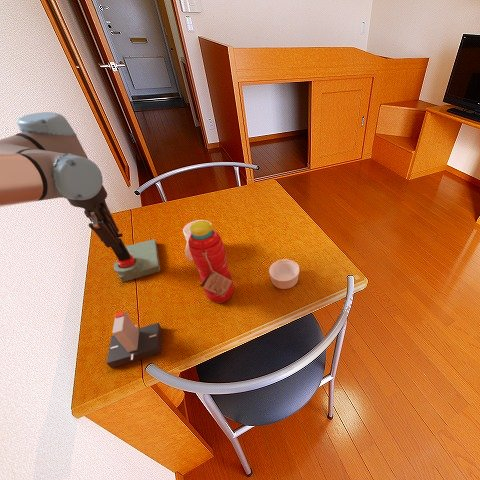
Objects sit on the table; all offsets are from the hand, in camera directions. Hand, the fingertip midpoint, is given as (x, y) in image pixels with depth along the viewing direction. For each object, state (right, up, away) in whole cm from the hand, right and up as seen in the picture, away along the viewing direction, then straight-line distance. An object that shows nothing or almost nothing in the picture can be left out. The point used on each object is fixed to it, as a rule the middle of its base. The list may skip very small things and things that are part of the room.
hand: (124, 258), depth 79 cm
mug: (+18, 0, +10) cm, 21 cm away
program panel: (+13, -20, -14) cm, 28 cm away
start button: (0, -2, +1) cm, 2 cm away
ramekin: (+46, -7, +4) cm, 46 cm away
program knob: (+13, -18, -16) cm, 27 cm away
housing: (0, -2, +7) cm, 7 cm away
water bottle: (+29, -11, -3) cm, 31 cm away
